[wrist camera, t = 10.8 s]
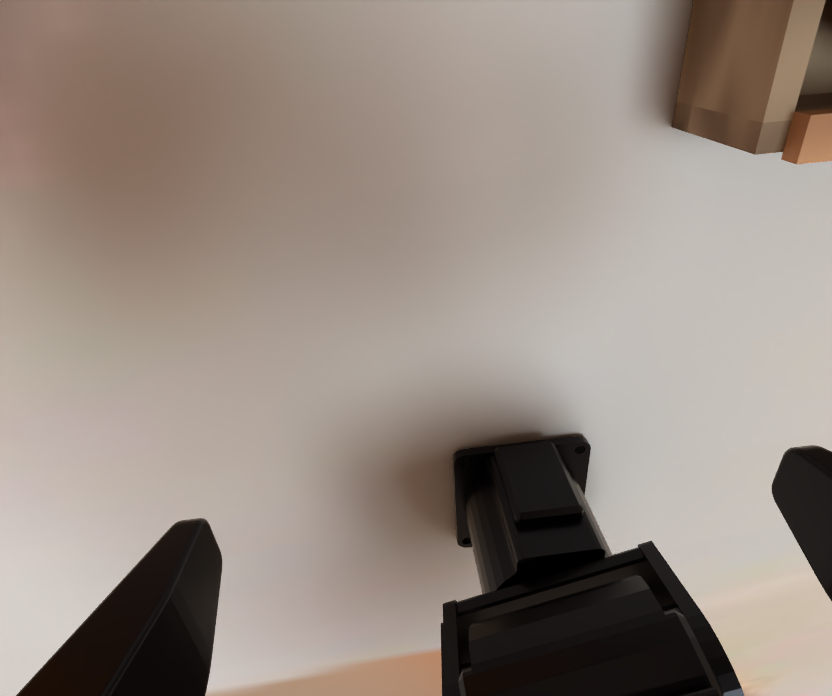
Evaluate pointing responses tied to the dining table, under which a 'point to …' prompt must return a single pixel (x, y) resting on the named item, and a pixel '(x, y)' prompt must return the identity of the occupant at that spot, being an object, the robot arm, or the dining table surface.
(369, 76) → the dining table surface
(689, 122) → the rack
